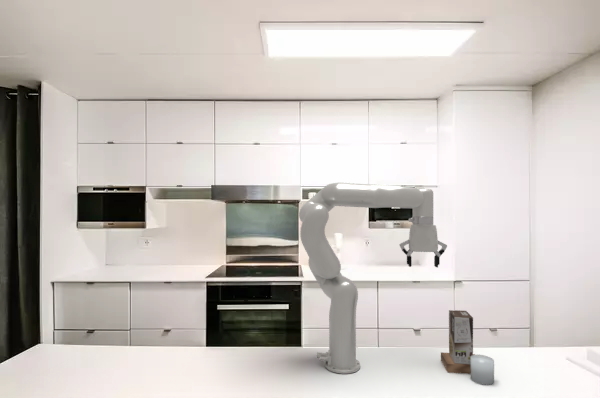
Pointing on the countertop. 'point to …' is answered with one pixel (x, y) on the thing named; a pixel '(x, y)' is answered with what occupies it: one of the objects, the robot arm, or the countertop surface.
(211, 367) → the countertop surface
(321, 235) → the robot arm
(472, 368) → the pale grey rounded cylinder
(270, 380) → the countertop surface
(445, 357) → the walnut slab
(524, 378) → the countertop surface
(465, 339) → the coffee box
